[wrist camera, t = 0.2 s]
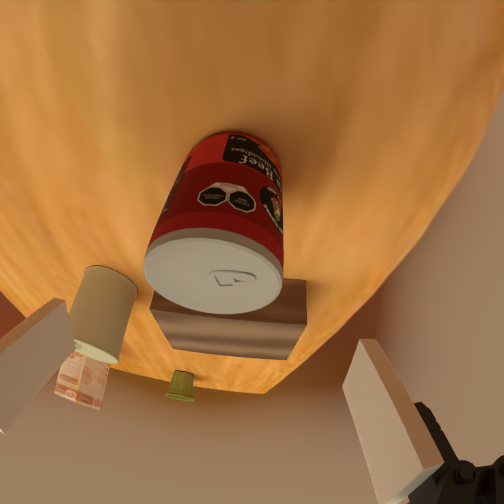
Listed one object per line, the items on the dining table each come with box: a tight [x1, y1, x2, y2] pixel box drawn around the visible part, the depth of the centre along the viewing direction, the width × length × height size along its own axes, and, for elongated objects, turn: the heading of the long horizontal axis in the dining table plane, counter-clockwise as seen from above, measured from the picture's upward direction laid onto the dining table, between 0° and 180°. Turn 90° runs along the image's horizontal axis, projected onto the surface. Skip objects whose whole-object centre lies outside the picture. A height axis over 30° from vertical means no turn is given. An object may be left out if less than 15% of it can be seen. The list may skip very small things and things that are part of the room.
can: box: [68, 266, 138, 364], centre depth 34 cm, size 9×9×12 cm
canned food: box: [143, 132, 284, 314], centre depth 18 cm, size 8×8×11 cm
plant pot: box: [165, 371, 195, 401], centre depth 77 cm, size 9×9×9 cm
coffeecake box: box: [54, 350, 111, 410], centre depth 55 cm, size 15×7×20 cm, turn 174°
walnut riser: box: [150, 279, 307, 360], centre depth 37 cm, size 14×18×6 cm
